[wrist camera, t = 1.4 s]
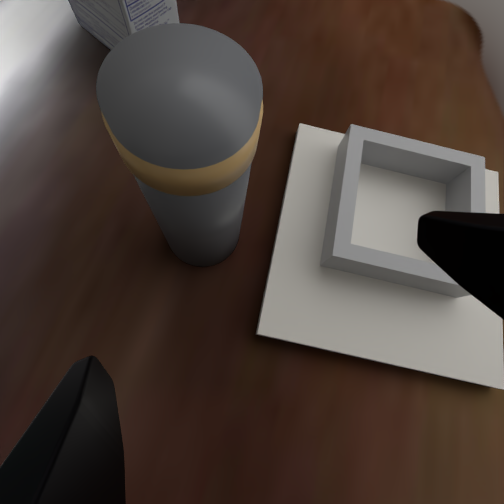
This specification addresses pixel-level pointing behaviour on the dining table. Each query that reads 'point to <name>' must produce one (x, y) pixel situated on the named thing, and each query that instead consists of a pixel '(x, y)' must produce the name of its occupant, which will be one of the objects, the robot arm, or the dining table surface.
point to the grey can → (185, 131)
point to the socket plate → (379, 255)
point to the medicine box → (122, 17)
